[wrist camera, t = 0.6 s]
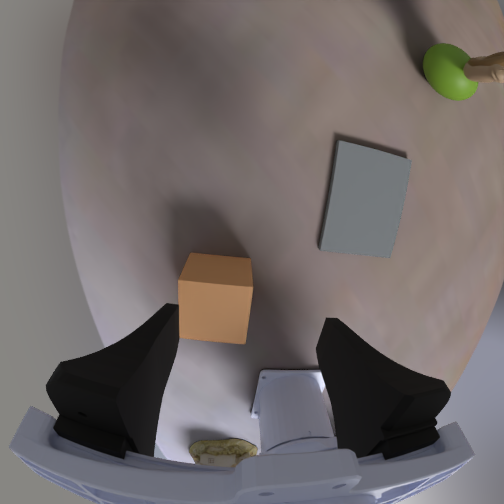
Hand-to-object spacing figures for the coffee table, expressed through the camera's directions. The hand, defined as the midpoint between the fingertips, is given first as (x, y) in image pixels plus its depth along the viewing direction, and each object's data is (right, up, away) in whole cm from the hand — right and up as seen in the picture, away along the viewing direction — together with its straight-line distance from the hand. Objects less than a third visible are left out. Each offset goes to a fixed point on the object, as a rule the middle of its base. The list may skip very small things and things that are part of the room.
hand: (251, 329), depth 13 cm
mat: (+10, +8, +8) cm, 15 cm away
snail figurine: (+17, +20, +4) cm, 26 cm away
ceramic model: (-5, -30, +23) cm, 38 cm away
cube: (-3, +1, +11) cm, 11 cm away
